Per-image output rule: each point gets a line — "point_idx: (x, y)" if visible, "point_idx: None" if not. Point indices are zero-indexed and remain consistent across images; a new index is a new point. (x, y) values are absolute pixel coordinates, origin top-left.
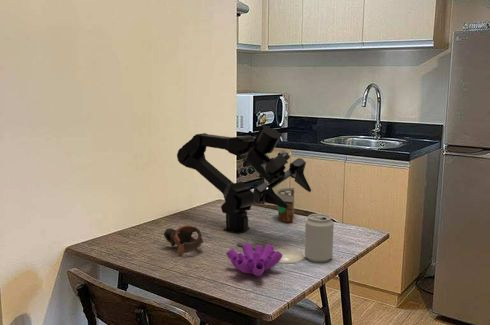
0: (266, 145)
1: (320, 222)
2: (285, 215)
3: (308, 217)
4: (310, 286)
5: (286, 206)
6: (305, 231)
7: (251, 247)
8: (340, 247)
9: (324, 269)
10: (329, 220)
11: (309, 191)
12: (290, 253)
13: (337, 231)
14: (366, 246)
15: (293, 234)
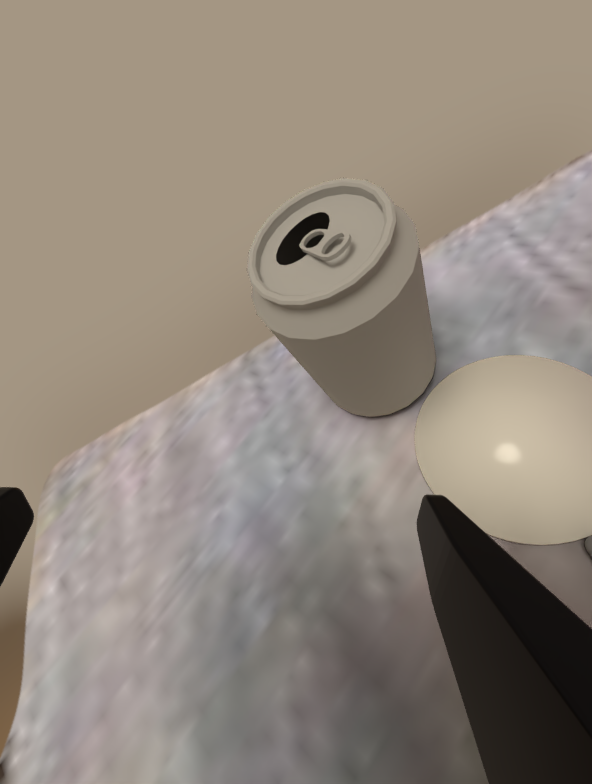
0: None
1: (359, 193)
2: None
3: (390, 240)
4: (566, 166)
5: (448, 502)
6: (410, 329)
7: None
8: (232, 430)
9: (424, 275)
10: (295, 208)
11: (25, 517)
12: (474, 452)
13: (106, 594)
14: (169, 400)
15: (269, 731)
